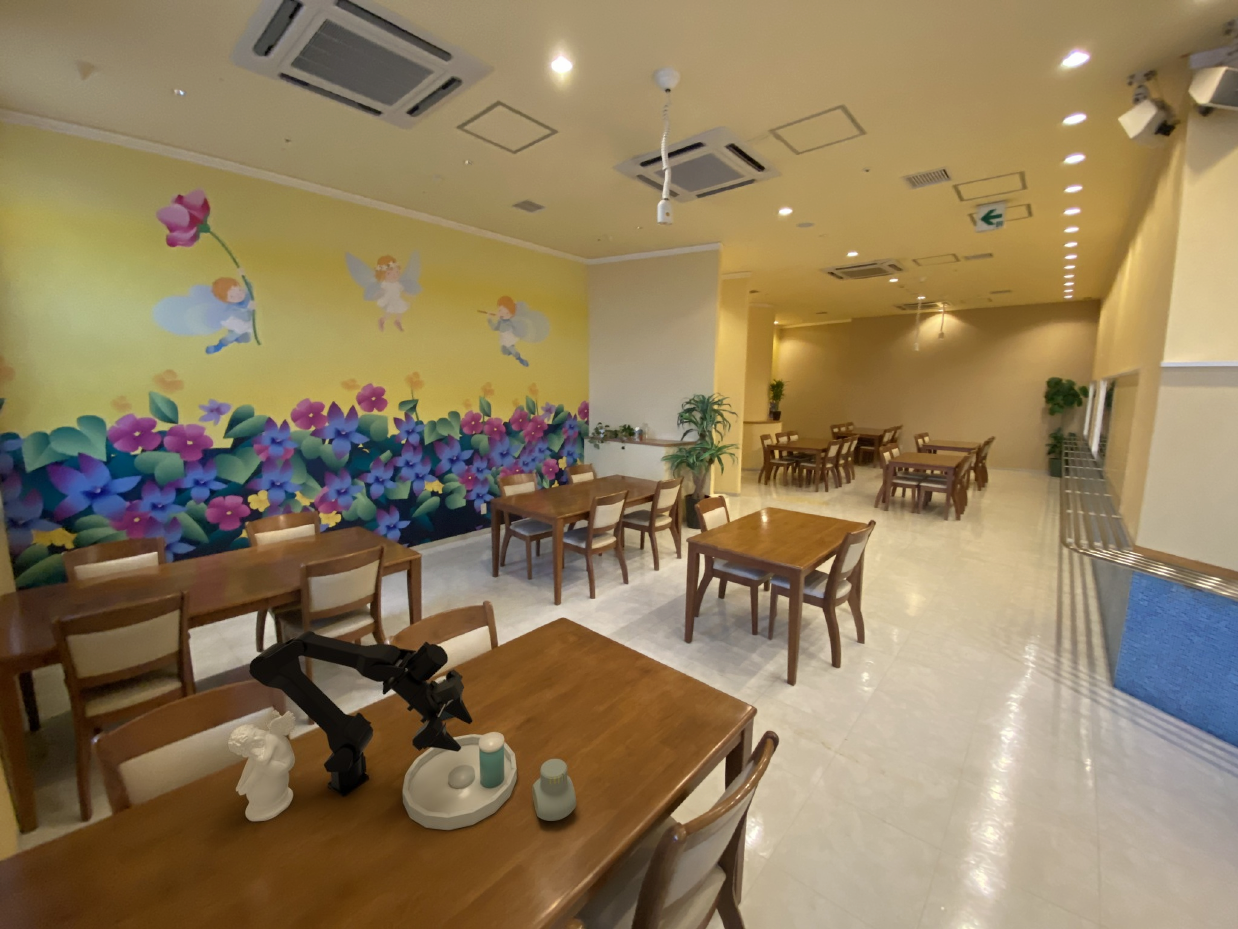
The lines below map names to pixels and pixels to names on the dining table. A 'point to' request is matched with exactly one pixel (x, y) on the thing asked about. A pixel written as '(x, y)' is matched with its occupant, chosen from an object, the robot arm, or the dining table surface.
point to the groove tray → (454, 786)
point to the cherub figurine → (265, 765)
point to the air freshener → (553, 791)
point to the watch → (444, 714)
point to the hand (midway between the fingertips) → (465, 735)
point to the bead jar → (491, 759)
